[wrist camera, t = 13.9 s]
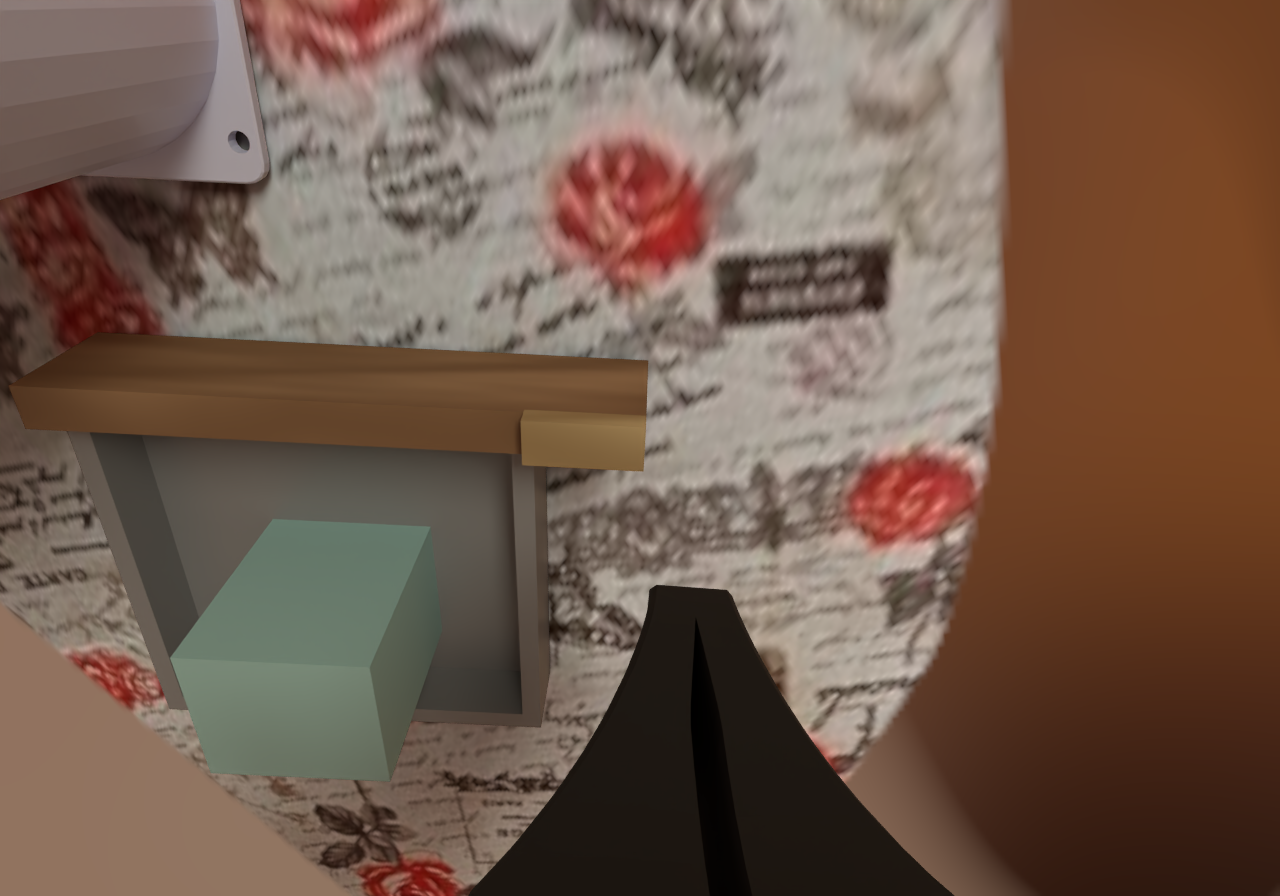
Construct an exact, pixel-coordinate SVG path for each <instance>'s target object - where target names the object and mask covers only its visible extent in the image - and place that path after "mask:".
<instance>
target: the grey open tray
mask: <svg viewBox="0 0 1280 896" xmlns="http://www.w3.org/2000/svg"><path fill="white" fill-rule="evenodd" d="M67 432H68V435H69V437H70V440H71V443H72V446H73V448H74V451H75V454H76V456H77V459H78V462H79V465H80V467H81V470H82V473H83V475H84V478H85V481H86V483H87V486H88V489H89V492H90V494H91V497H92V500H93V502H94V505H95V508H96V511H97V513H98V516H99V519H100V521H101V524H102V527H103V530H104V532H105V535H106V538H107V540H108V543H109V546H110V549H111V551H112V554H113V557H114V559H115V562H116V565H117V568H118V570H119V573H120V576H121V578H122V581H123V584H124V587H125V589H126V592H127V595H128V597H129V600H130V603H131V606H132V608H133V611H134V614H135V616H136V619H137V622H138V625H139V627H140V630H141V633H142V635H143V638H144V641H145V644H146V646H147V649H148V652H149V654H150V657H151V660H152V663H153V665H154V668H155V671H156V673H157V676H158V679H159V681H160V684H161V687H162V690H163V692H164V695H165V698H166V700H167V703H168V706H169V709H180V710H188V707H187V704H186V701H185V699H184V696H183V693H182V690H181V687H180V685H179V682H178V679H177V676H176V673H175V671H174V668H173V665H172V662H171V659H170V657H171V656H172V655H173V653H174V652H175V651H176V649H177V648H178V647H179V645H180V644H181V642H182V641H183V640H184V638H185V637H186V636H187V634H188V633H189V632H190V630H191V629H192V628H193V626H194V625H195V624H196V622H197V621H198V619H199V618H200V617H201V615H202V614H203V613H204V611H205V610H206V609H207V607H208V606H209V605H210V603H211V602H212V601H213V599H214V598H215V597H216V595H217V594H218V592H219V591H220V590H221V588H222V587H223V586H224V584H225V583H226V582H227V580H228V579H229V578H230V576H231V575H232V574H233V572H234V571H235V570H236V568H237V567H238V565H239V564H240V563H241V561H242V560H243V559H244V557H245V556H246V555H247V553H248V552H249V551H250V549H251V548H252V547H253V545H254V544H255V542H256V541H257V540H258V538H259V537H260V536H261V534H262V533H263V532H264V530H265V529H266V528H267V526H268V525H269V524H270V522H271V521H272V520H273V519H283V520H304V521H324V522H345V523H366V524H386V525H407V526H427V527H431V535H432V544H433V553H434V561H435V570H436V579H437V588H438V597H439V606H440V615H441V624H442V633H441V635H440V638H439V641H438V644H437V647H436V650H435V653H434V656H433V659H432V662H431V665H430V667H429V670H428V673H427V676H426V679H425V682H424V685H423V688H422V691H421V694H420V697H419V699H418V702H417V705H416V708H415V711H414V714H413V717H412V720H411V721H421V722H441V723H461V724H481V725H501V726H521V727H541V723H542V717H543V711H544V705H545V699H546V693H547V687H548V680H549V674H550V653H549V595H548V538H547V480H546V466H526V465H522V454H509V453H490V452H470V451H450V450H431V449H411V448H391V447H372V446H352V445H332V444H313V443H293V442H273V441H254V440H234V439H214V438H195V437H175V436H155V435H136V434H116V433H96V432H77V431H67Z"/></svg>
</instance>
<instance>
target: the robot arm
mask: <svg viewBox="0 0 1280 896" xmlns="http://www.w3.org/2000/svg"><path fill="white" fill-rule="evenodd" d="M237 131H240V132H243V133H244V134H245V135H246V136H247V137H248V140H249V142H250V149H249V150H248V151H247V150H244V149H242V148H241V147H240V146H239V145H238V143H237V141H236V132H237ZM268 172H269V157H268V151H267V146H266V140H265V135H264V130H263V124H262V119H261V113H260V108H259V102H258V97H257V91H256V86H255V81H254V75H253V70H252V64H251V59H250V53H249V48H248V42H247V37H246V32H245V26H244V21H243V15H242V10H241V4H240V0H0V200H2V199H5V198H8V197H12V196H15V195H18V194H21V193H24V192H28V191H31V190H34V189H37V188H41V187H44V186H47V185H50V184H53V183H57V182H60V181H63V180H66V179H70V178H73V177H76V176H79V175H82V176H102V177H121V178H140V179H159V180H179V181H198V182H217V183H237V184H252V183H256V182H259V181H261V180H262V179H264V178H265V177H266V176H267V174H268ZM469 896H954V895H953V894H952V893H951V892H950V891H948V890H947V889H946V888H945V887H944V886H943V885H941V884H940V883H939V882H938V881H937V880H936V879H935V878H933V877H932V876H931V875H930V874H929V873H928V872H927V871H926V870H925V869H924V868H923V867H922V866H921V865H920V864H919V863H918V862H917V861H916V860H915V859H914V858H913V857H912V856H911V855H909V854H908V853H907V852H906V851H905V850H904V849H903V848H902V847H901V846H900V845H899V843H898V842H897V841H896V840H895V839H894V838H893V837H892V836H891V835H890V834H889V833H888V831H887V830H886V829H885V828H884V827H883V826H882V825H881V824H880V823H879V822H878V821H877V820H876V819H875V817H874V816H873V815H872V814H871V813H870V812H869V811H868V810H867V809H866V808H865V807H864V806H863V805H862V803H861V802H860V801H859V800H858V799H857V798H856V797H855V795H854V794H853V793H852V792H851V790H850V789H849V788H848V787H847V786H846V784H845V783H844V782H843V781H842V779H841V778H840V777H839V776H838V775H837V773H836V772H835V771H834V769H833V768H832V767H831V766H830V764H829V763H828V762H827V760H826V759H825V758H824V756H823V755H822V754H821V753H820V751H819V750H818V748H817V747H816V746H815V744H814V743H813V742H812V740H811V739H810V737H809V736H808V734H807V733H806V731H805V730H804V729H803V727H802V726H801V724H800V723H799V721H798V719H797V718H796V716H795V715H794V713H793V712H792V710H791V709H790V707H789V706H788V704H787V703H786V701H785V699H784V698H783V696H782V694H781V693H780V691H779V689H778V688H777V686H776V684H775V682H774V681H773V679H772V677H771V675H770V674H769V672H768V670H767V668H766V667H765V665H764V663H763V661H762V659H761V658H760V656H759V654H758V652H757V650H756V648H755V646H754V644H753V642H752V640H751V638H750V636H749V634H748V632H747V630H746V628H745V626H744V623H743V621H742V619H741V617H740V614H739V612H738V610H737V607H736V605H735V602H734V600H733V597H732V595H731V594H730V593H729V592H728V591H727V590H719V589H706V588H692V587H678V586H665V585H656V586H654V587H653V588H651V589H650V590H649V600H648V609H647V614H646V618H645V621H644V625H643V628H642V631H641V634H640V637H639V640H638V643H637V645H636V648H635V650H634V653H633V655H632V658H631V661H630V663H629V666H628V668H627V670H626V673H625V675H624V677H623V679H622V681H621V683H620V685H619V687H618V689H617V691H616V693H615V695H614V698H613V700H612V702H611V704H610V706H609V708H608V710H607V711H606V713H605V715H604V717H603V719H602V721H601V722H600V724H599V726H598V728H597V729H596V731H595V733H594V735H593V736H592V738H591V740H590V741H589V743H588V744H587V746H586V748H585V749H584V751H583V753H582V754H581V756H580V757H579V759H578V760H577V762H576V763H575V765H574V766H573V768H572V769H571V771H570V772H569V774H568V775H567V777H566V778H565V780H564V781H563V782H562V784H561V785H560V787H559V788H558V789H557V791H556V792H555V794H554V795H553V796H552V798H551V799H550V800H549V802H548V803H547V804H546V805H545V807H544V808H543V809H542V810H541V812H540V813H539V814H538V815H537V817H536V818H535V819H534V820H533V822H532V823H531V824H530V825H529V827H528V828H527V829H526V830H525V832H524V833H523V834H522V835H521V837H520V838H519V839H518V840H517V842H516V843H515V844H514V845H513V846H512V847H511V848H510V850H509V851H508V852H507V853H506V854H505V855H504V856H503V857H502V858H501V859H500V860H499V862H498V863H497V864H496V865H495V866H494V867H493V868H492V869H491V870H490V871H489V872H488V873H487V874H486V876H485V877H484V878H483V879H482V880H481V881H480V882H479V883H478V884H477V885H476V886H475V887H474V888H473V890H472V891H471V892H470V894H469Z"/></svg>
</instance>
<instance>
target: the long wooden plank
mask: <svg viewBox="0 0 1280 896" xmlns="http://www.w3.org/2000/svg"><path fill="white" fill-rule="evenodd" d="M647 379H648V361H647V360H627V359H608V358H588V357H569V356H549V355H530V354H510V353H491V352H471V351H451V350H432V349H412V348H393V347H373V346H354V345H334V344H315V343H295V342H276V341H256V340H237V339H217V338H198V337H178V336H159V335H139V334H120V333H100V332H98V333H96V334H94V335H92V336H91V337H89V338H87V339H86V340H84V341H82V342H81V343H79V344H77V345H76V346H74V347H72V348H71V349H69V350H67V351H66V352H64V353H62V354H61V355H59V356H57V357H56V358H54V359H52V360H51V361H49V362H47V363H46V364H44V365H42V366H41V367H39V368H37V369H36V370H34V371H32V372H31V373H29V374H27V375H26V376H24V377H22V378H21V379H19V380H17V381H16V382H14V383H12V384H11V385H9V389H10V391H11V394H12V396H13V399H14V401H15V404H16V406H17V409H18V411H19V414H20V416H21V419H22V421H23V424H24V426H25V429H38V430H57V431H77V432H96V433H116V434H136V435H155V436H175V437H195V438H214V439H234V440H254V441H273V442H293V443H313V444H332V445H352V446H372V447H391V448H411V449H431V450H450V451H470V452H490V453H509V454H522V465H526V466H546V467H566V468H585V469H605V470H625V471H643V469H644V451H645V433H646V408H647Z"/></svg>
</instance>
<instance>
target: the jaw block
mask: <svg viewBox="0 0 1280 896" xmlns="http://www.w3.org/2000/svg"><path fill="white" fill-rule="evenodd" d="M441 633H442V624H441V615H440V606H439V597H438V588H437V579H436V570H435V561H434V553H433V544H432V535H431V527H427V526H407V525H386V524H366V523H345V522H324V521H304V520H283V519H273V520H272V521H271V522H270V524H269V525H268V526H267V528H266V529H265V530H264V532H263V533H262V534H261V536H260V537H259V538H258V540H257V541H256V542H255V544H254V545H253V547H252V548H251V549H250V551H249V552H248V553H247V555H246V556H245V557H244V559H243V560H242V561H241V563H240V564H239V565H238V567H237V568H236V570H235V571H234V572H233V574H232V575H231V576H230V578H229V579H228V580H227V582H226V583H225V584H224V586H223V587H222V588H221V590H220V591H219V592H218V594H217V595H216V597H215V598H214V599H213V601H212V602H211V603H210V605H209V606H208V607H207V609H206V610H205V611H204V613H203V614H202V615H201V617H200V618H199V619H198V621H197V622H196V624H195V625H194V626H193V628H192V629H191V630H190V632H189V633H188V634H187V636H186V637H185V638H184V640H183V641H182V642H181V644H180V645H179V647H178V648H177V649H176V651H175V652H174V653H173V655H172V656H171V657H170V659H171V662H172V665H173V668H174V671H175V673H176V676H177V679H178V682H179V685H180V687H181V690H182V693H183V696H184V699H185V701H186V704H187V707H188V710H189V713H190V716H191V718H192V721H193V724H194V727H195V730H196V732H197V735H198V738H199V741H200V744H201V747H202V749H203V752H204V755H205V758H206V761H207V763H208V766H209V769H210V772H211V773H220V774H241V775H262V776H283V777H303V778H324V779H345V780H366V781H387V782H390V781H391V778H392V775H393V772H394V769H395V766H396V763H397V760H398V758H399V755H400V752H401V749H402V746H403V743H404V740H405V737H406V734H407V731H408V728H409V726H410V723H411V720H412V717H413V714H414V711H415V708H416V705H417V702H418V699H419V697H420V694H421V691H422V688H423V685H424V682H425V679H426V676H427V673H428V670H429V667H430V665H431V662H432V659H433V656H434V653H435V650H436V647H437V644H438V641H439V638H440V635H441Z"/></svg>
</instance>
